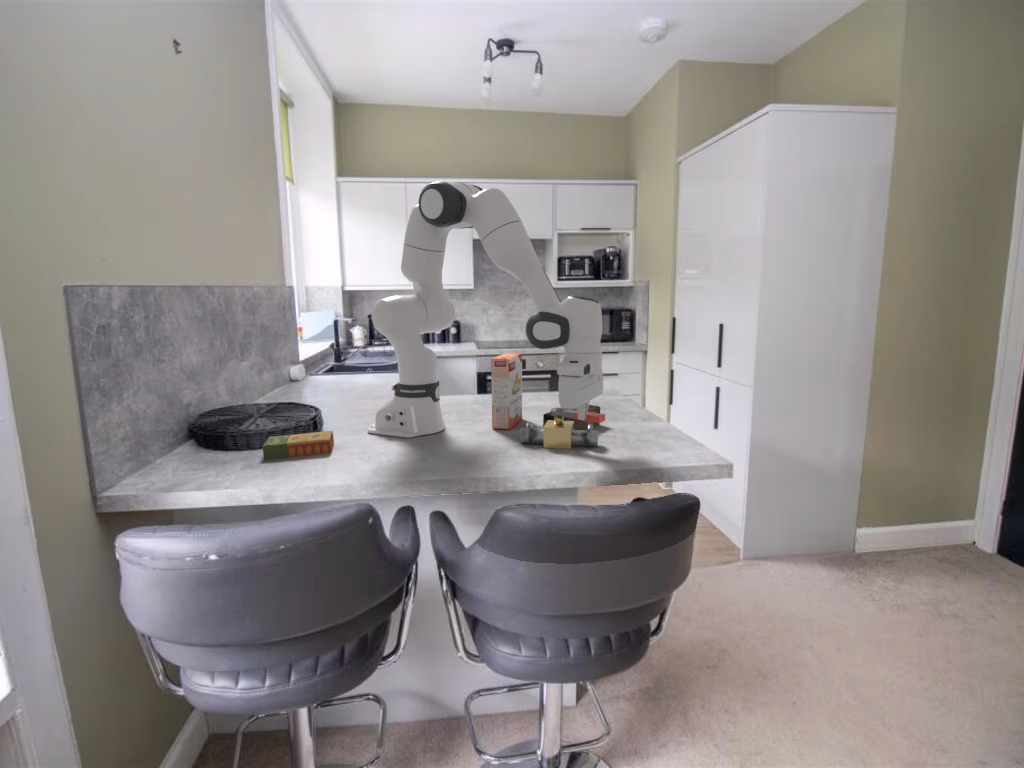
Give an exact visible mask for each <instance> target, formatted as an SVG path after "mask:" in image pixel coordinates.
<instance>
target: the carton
mask: <svg viewBox="0 0 1024 768" xmlns="http://www.w3.org/2000/svg"><path fill="white" fill-rule="evenodd" d="M334 439H335V438H334V432H333V430H327V431H317V432H315V431H314V432H305V433H297V434H283V435H276V436H275V435H274V436H272V435H270V436H268V438H267V439H266V441H265V442H264V444H263V445H262V454H263V459H264V460H273V459H274V460H275V459H284V458H292V457H293V458H295V457H306V456H313V455H314V456H315V455H327V454H332V452H333V449H334V447H335V446H334V445H335V440H334Z"/></svg>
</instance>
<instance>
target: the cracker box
mask: <svg viewBox="0 0 1024 768" xmlns="http://www.w3.org/2000/svg"><path fill="white" fill-rule="evenodd" d="M490 366H491V367H490V369H491V370H490V372H491V424H492V425H491V428H492V429H496V430H506V431H507V430H509V431H510V430H511V429H512V428H514V426H515V425H517V423H519V422H520V421H521V420H522V419H523V353H519V352H504V353H503V354H499V355H497V356H495V357H492V358H491V359H490Z"/></svg>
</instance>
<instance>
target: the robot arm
mask: <svg viewBox="0 0 1024 768" xmlns="http://www.w3.org/2000/svg"><path fill="white" fill-rule="evenodd" d="M453 229H457V230H459V229H474V230H475V232H476V233H477V235H478V238H479V240H480V243H481V244H482V246H483V249H484V250H485V252H486V254H487V256H488V257H489V258H490V260H491V262H493V264H494V265H495V266H496V268H498V269H500V270H502V271H504V272H506V273H508V274H509V275H510V276H512V277H514V278H515V279H516V280H518V281H519V282H520V283H522V285H523V287H524V288H525V290H526V291H527V293H528V295H529V296H530V298H531V301H532V302H533V304H534V306H535V308H536V309H537V311H536V312H535V313H533V314H532V315H531V316H529V318H528V319H527V321H526V324H525V335H526V337H527V340H528V342H529V343H530V344H531V345H532V346H533V347H535V348H537V349H539V350H551V349H556V348H560V347H561V348H564V357H563V358H562V361H561V362H560V363H559V364H558V365H557V367H556V374H557V375H558V376H559V378H558V387H557V388H558V389H557V390H558V403H559V406H560V408H566V409H575V408H576V409H577V412H578V419H579V420H585V419H586V418H587V411H588V408H589V405H590V401H592V400H594V399H595V398H597V397H600V396H601V395H602V394H603V391H604V377H603V376H604V372H603V366H602V365H603V364H602V363H603V361H602V360H603V359H602V357H603V348H602V345H601V340H602V339H601V338H602V335H603V314H602V307H601V303H600V302H599V301H598V299H596V298H595V297H591V296H588V295H583V294H582V295H579V294H570V295H569V296H567V297H566V298H565V299H564V300H561V298H560V297H559V296H558V293H557V291H556V289H555V287H554V286H553V284H552V282H551V280H550V279H549V277H548V275H547V273H546V271H545V270H544V268H543V266H542V265H541V262H540V259H539V257H538V256H537V253H536V251H535V249H534V246H533V244H532V241H531V239H530V236H529V234H528V232H527V230H526V227H525V225H524V223H523V221H522V219H521V217H520V216H519V213H518V212H517V210H516V208H515V207H514V205H513V203H512V202H511V201H510V199H509V198H508V196H507V195H506V194H505V193H504V191H502V190H501V189H499V188H498V187H497V188H496V187H488V188H485V189H483V188H481V187H480V186H478V185H475V184H470V183H465V182H461V181H454V182H451V181H449V182H446V181H440V180H439V181H434V182H431V183H429V184H427V185H425V186H424V187H423V188H422V190H421V192H420V194H419V196H418V204H415V205H414V206H413V208H412V209H411V212H410V215H409V218H408V221H407V225H406V229H405V233H404V240H403V248H402V256H401V263H400V269H401V270H400V271H401V272H402V275H403V277H405V279H407V280H408V281H409V282H411V283H412V287H413V293H412V294H407V295H391V296H387V297H385V298H380V299H378V300H377V301H376V302H375V303H374V305H373V307H372V310H371V321H372V324H373V326H374V328H375V329H376V330H377V332H379V334H381V335H382V336H384V337H385V338H386V339H387V341H389V343H390V344H391V346H392V348H393V350H394V353H395V356H396V361H397V371H398V382H397V383H395V384H393V386H390V387H391V391H393V395H392V396H391V397H390V398H389V399H388V400H387V401H386V402H384V403H383V404H382V405H381V406H379V408H378V409H377V410H376V413H375V418H374V419H375V422H373V423H372V424H371V425H369V426H368V428H367V433H368V434H375V435H383V436H390V437H391V436H392V437H399V438H400V437H401V438H408V439H409V438H414V437H415V438H416V437H418V436H425V435H432V434H436V433H439V432H442V431H443V430H444V431H445V429H446V424H445V420H444V417H443V413H442V409H441V402H440V400H441V386H440V385H441V384H440V381H439V379H438V377H439V376H438V374H439V373H438V357H437V355H436V352H434V351H433V350H432V349H431V348H429V347H427V346H425V344H424V342H423V339H422V336H421V334H429V333H438V332H440V331H444V330H446V329H448V328H450V327H451V326H452V325H453V324H454V322H455V318H456V310H455V307H454V304H453V302H452V301H451V299H450V298H449V297H448V296H447V294H446V293H445V289H444V286H443V285H444V284H443V269H444V262H445V261H444V260H445V253H446V246H447V239H448V236H449V233H450V232H451V230H453Z"/></svg>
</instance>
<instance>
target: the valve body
mask: <svg viewBox="0 0 1024 768" xmlns="http://www.w3.org/2000/svg"><path fill="white" fill-rule="evenodd" d="M542 427H543V426H542ZM519 442H520V443H522V444H537V445H538V444H540V445H543V448H545V449H560V450H562V449H564V450H571V449H572V447H573V446H578V447H598V446H599V430H594V427H593V425H591V424H588V428H587V430H574V421H564V417H557V416H554V420H548V421H547V422H546V424H545V425H544V427H543V428H539V427H536V428H535V427H533V422H532V421H526V424H525V427H521V428H520V432H519Z"/></svg>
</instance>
